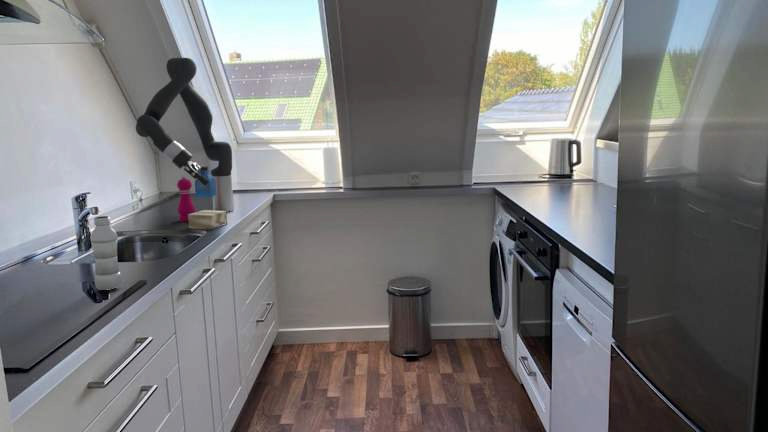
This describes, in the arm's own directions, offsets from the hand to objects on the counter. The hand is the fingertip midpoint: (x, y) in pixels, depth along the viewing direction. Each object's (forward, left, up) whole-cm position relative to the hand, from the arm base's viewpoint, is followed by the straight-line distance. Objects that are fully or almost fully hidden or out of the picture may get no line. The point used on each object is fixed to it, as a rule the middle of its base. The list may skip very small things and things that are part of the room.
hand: (208, 182), depth 231 cm
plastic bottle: (+82, +23, -19) cm, 87 cm away
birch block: (+1, -1, -19) cm, 19 cm away
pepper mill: (-8, -18, -19) cm, 27 cm away
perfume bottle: (0, -1, -6) cm, 6 cm away
